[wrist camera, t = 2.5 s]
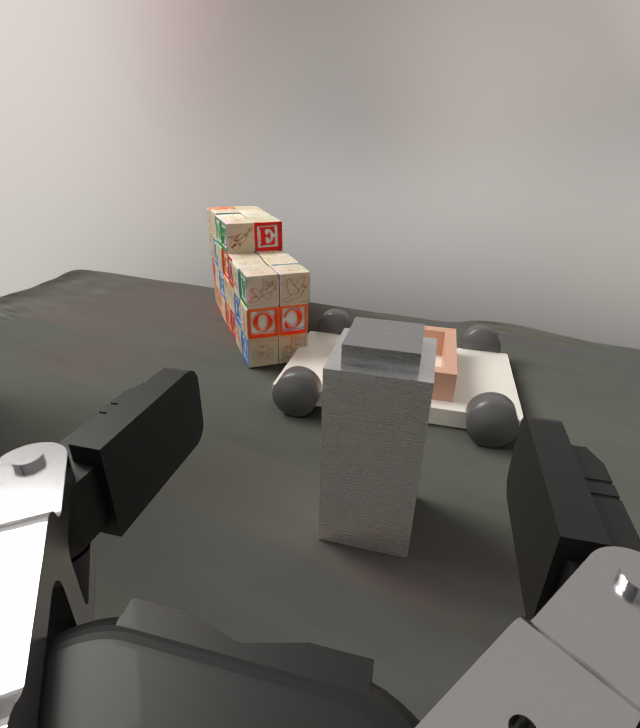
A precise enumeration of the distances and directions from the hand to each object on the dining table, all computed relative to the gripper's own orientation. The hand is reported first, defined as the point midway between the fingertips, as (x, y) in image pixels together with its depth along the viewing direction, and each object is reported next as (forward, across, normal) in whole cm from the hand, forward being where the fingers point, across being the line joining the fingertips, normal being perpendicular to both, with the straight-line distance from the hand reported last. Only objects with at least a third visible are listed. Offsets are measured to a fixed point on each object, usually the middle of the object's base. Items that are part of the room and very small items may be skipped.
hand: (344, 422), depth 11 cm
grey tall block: (+12, 0, +14) cm, 18 cm away
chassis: (+28, 0, +14) cm, 32 cm away
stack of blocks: (+38, +18, +14) cm, 44 cm away
